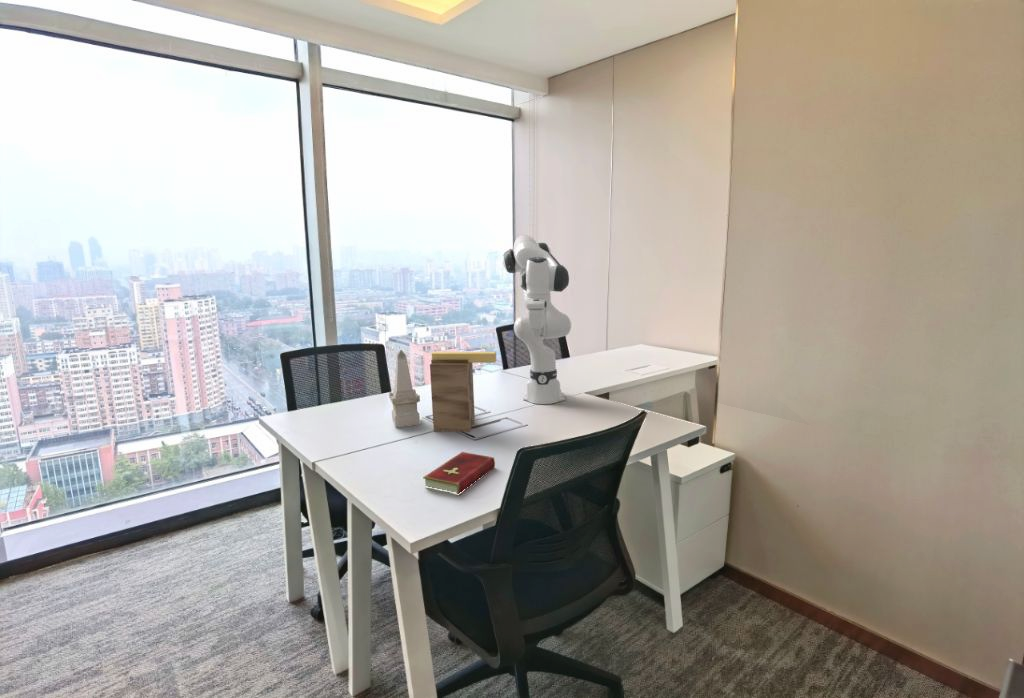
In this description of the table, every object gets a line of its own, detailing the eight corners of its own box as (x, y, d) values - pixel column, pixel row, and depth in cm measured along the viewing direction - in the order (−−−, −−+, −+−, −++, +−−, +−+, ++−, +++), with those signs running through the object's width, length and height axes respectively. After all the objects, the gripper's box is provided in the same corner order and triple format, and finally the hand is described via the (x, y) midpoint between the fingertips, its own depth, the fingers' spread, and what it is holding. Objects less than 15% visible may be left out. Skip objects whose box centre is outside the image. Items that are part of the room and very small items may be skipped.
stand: (440, 422, 209) (436, 355, 204) (474, 423, 207) (472, 355, 202) (433, 430, 199) (429, 361, 194) (469, 431, 197) (466, 361, 192)
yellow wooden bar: (434, 360, 201) (434, 351, 200) (496, 360, 198) (496, 351, 197) (432, 362, 197) (431, 353, 197) (494, 362, 194) (494, 353, 194)
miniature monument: (421, 424, 207) (416, 350, 201) (394, 428, 203) (389, 352, 198) (416, 417, 216) (412, 346, 211) (391, 420, 213) (385, 348, 207)
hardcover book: (495, 469, 164) (494, 456, 163) (458, 497, 146) (458, 483, 145) (462, 463, 170) (462, 450, 169) (423, 489, 151) (423, 476, 150)
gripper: (534, 300, 203) (535, 335, 205) (525, 304, 183) (526, 343, 185) (550, 299, 202) (551, 335, 204) (543, 304, 182) (544, 343, 184)
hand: (539, 339), depth 195 cm, fingers open, 8 cm apart
